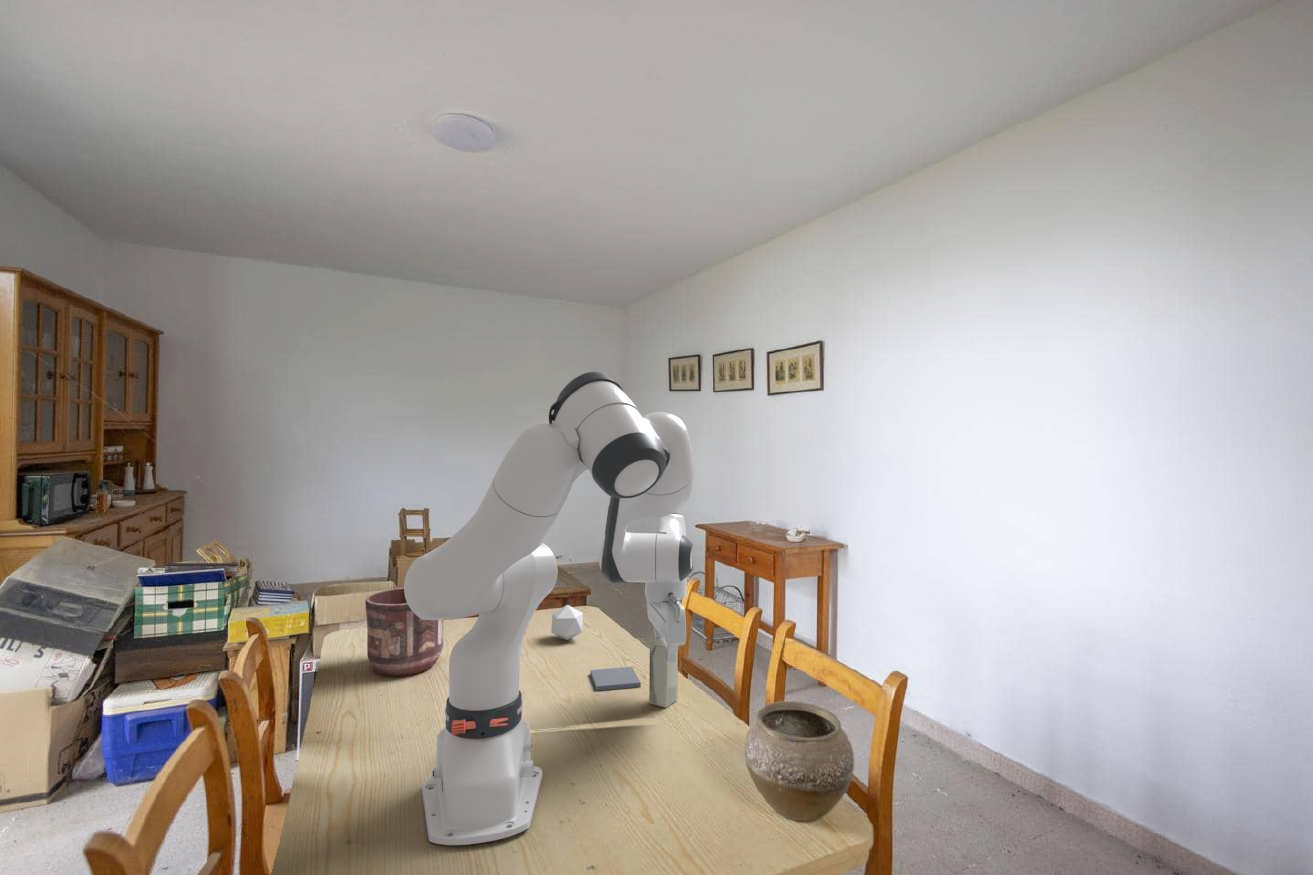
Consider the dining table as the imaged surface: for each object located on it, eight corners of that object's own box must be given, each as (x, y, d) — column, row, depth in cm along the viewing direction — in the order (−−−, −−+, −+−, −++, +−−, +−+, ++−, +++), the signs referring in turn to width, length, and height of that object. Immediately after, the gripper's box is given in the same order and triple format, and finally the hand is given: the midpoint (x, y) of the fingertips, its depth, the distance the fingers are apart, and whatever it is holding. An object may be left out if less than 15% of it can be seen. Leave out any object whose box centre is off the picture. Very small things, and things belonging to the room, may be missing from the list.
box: (660, 695, 132) (661, 636, 133) (678, 700, 130) (678, 639, 130) (648, 704, 128) (648, 643, 128) (666, 709, 126) (666, 646, 126)
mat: (640, 686, 137) (640, 682, 137) (596, 690, 135) (596, 686, 135) (631, 670, 147) (631, 666, 147) (590, 674, 144) (590, 669, 144)
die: (571, 633, 175) (572, 599, 175) (588, 641, 168) (589, 605, 168) (545, 639, 170) (545, 603, 170) (562, 648, 163) (562, 610, 163)
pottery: (419, 686, 136) (420, 606, 137) (348, 681, 139) (349, 602, 139) (457, 659, 154) (458, 587, 154) (394, 654, 157) (394, 584, 157)
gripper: (694, 599, 120) (693, 670, 119) (668, 577, 140) (668, 637, 139) (663, 601, 118) (662, 672, 118) (641, 578, 138) (641, 639, 138)
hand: (665, 653), depth 129 cm, fingers open, 8 cm apart
